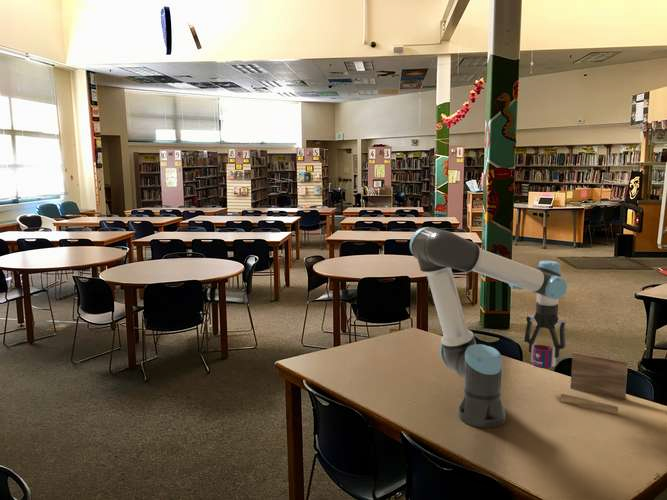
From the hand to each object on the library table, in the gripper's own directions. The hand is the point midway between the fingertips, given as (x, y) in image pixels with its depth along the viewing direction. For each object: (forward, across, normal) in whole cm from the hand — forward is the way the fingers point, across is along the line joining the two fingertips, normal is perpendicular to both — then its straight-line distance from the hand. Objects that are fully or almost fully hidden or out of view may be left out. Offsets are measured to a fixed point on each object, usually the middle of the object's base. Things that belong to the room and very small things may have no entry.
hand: (543, 363), depth 194 cm
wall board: (+10, -18, -9) cm, 22 cm away
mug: (+1, 0, 0) cm, 1 cm away
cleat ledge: (+10, -18, +6) cm, 21 cm away
